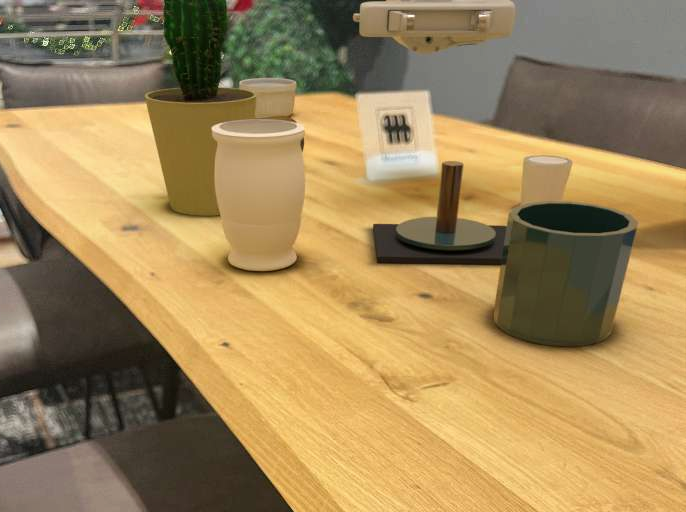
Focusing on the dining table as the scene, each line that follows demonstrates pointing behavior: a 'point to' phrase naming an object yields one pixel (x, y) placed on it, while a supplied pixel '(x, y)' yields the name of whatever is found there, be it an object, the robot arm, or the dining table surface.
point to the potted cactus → (194, 104)
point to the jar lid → (447, 219)
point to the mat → (402, 252)
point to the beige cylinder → (544, 178)
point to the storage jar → (563, 272)
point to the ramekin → (271, 95)
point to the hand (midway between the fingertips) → (446, 22)
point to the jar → (260, 190)
